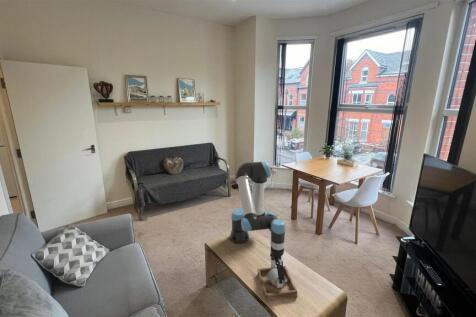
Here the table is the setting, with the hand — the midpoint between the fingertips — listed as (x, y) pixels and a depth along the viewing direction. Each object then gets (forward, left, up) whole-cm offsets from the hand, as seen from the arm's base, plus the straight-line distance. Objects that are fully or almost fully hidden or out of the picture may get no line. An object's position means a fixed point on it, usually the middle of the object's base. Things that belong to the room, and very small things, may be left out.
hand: (276, 277), depth 135 cm
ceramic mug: (0, +1, -4) cm, 4 cm away
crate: (0, 0, -5) cm, 5 cm away
